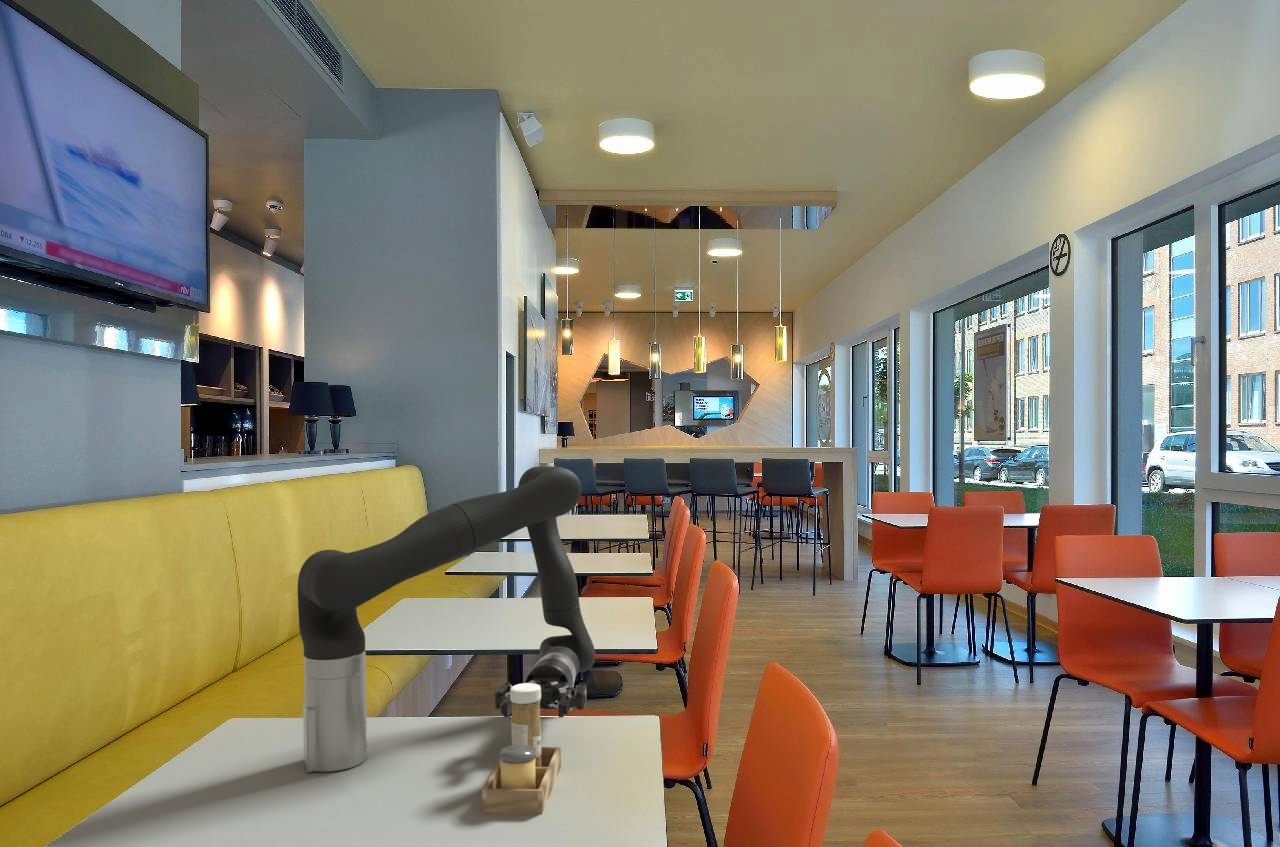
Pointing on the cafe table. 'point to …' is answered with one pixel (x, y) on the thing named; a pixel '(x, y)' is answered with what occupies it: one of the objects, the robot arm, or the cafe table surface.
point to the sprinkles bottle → (526, 717)
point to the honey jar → (518, 767)
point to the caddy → (523, 798)
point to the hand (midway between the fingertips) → (533, 710)
